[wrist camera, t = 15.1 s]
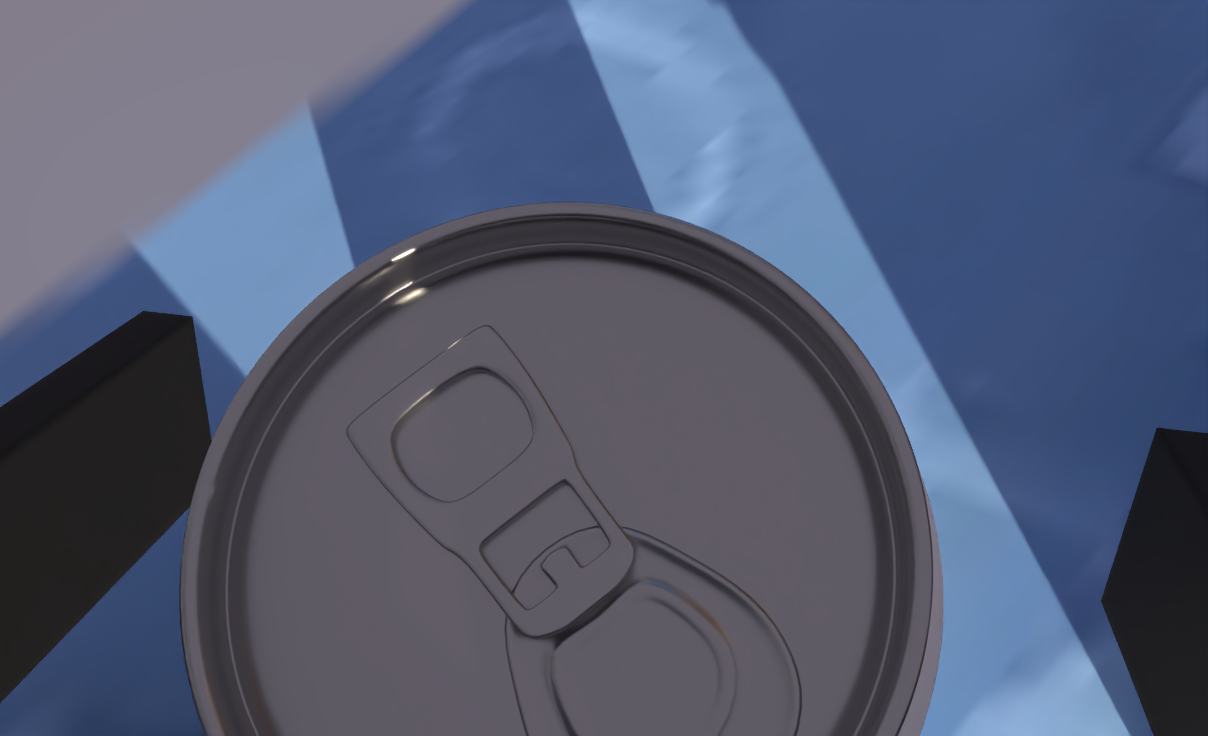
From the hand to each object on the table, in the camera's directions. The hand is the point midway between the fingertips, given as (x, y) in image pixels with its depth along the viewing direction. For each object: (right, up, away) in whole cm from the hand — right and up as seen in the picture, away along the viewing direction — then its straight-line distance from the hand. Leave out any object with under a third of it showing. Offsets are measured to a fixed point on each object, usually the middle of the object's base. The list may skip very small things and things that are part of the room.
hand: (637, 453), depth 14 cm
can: (0, -4, +5) cm, 6 cm away
